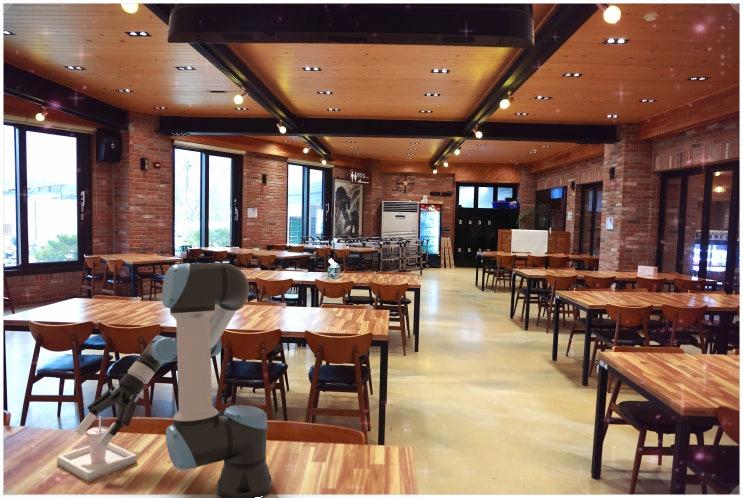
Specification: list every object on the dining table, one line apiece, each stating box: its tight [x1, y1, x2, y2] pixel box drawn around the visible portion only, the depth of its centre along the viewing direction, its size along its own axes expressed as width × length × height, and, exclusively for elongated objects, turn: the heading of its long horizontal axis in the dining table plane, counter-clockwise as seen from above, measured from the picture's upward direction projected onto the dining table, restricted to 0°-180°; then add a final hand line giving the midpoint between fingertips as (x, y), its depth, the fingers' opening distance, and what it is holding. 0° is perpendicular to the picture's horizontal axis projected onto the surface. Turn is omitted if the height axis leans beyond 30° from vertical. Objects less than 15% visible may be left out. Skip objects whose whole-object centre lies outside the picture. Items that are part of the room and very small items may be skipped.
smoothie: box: [86, 415, 110, 464], centre depth 158 cm, size 6×6×14 cm
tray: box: [56, 441, 138, 482], centre depth 159 cm, size 18×15×2 cm
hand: (89, 438), depth 156 cm, fingers open, 13 cm apart
